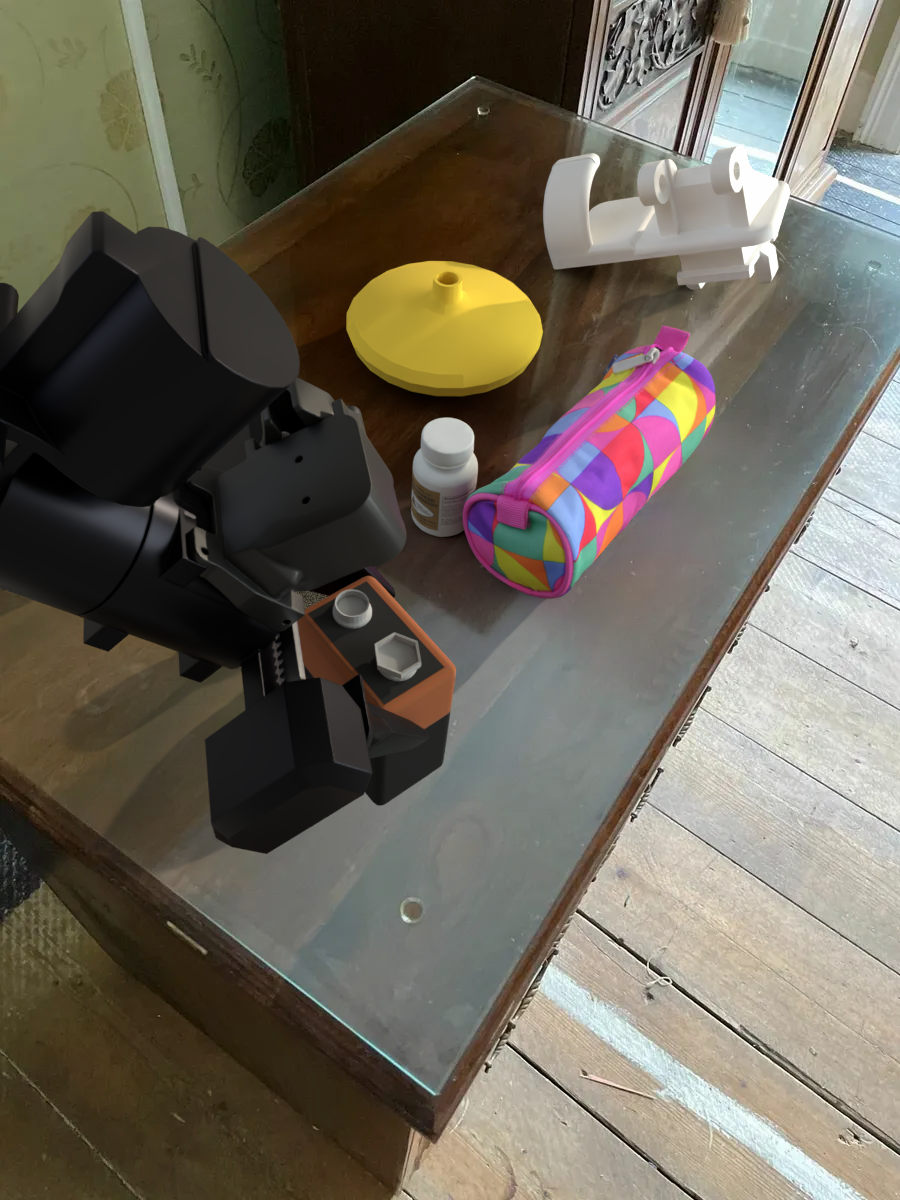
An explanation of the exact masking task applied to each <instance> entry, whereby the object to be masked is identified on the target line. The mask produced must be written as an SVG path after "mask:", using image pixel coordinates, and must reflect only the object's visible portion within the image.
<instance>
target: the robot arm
mask: <svg viewBox="0 0 900 1200" xmlns="http://www.w3.org/2000/svg"><path fill="white" fill-rule="evenodd" d="M19 298H20V295H19V291H18V290H17V289H16V288H15V287H14V286H13V285H12V284H10V283H7V282H0V590H3V591H6V592H8V593H9V592H10V593H12V594H15V595H17V596H21V597H23V598H27V599H29V600H32V601H35V602H38V603H40V604H43V605H46V606H49V607H51V608H55V609H57V610H60V611H63V612H65V613H68V614H71V615H74V616H76V617H79V618H81V619H83V641H82V643H83V644H84V645H87V646H90V647H93V648H96V649H99V650H101V651H105V652H108V653H109V652H110V651H111V650H113V649H114V648H115V647H116V646H117V645H118V644H120V643H121V642H122V641H123V640H124V639H126V638H127V637H128V636H129V635H130V636H132V637H136V638H138V639H141V640H144V641H146V642H149V643H152V644H155V645H158V646H160V647H163V648H166V649H169V650H172V651H175V652H177V653H178V655H177V656H178V669H179V677H183V678H185V679H188V680H191V681H194V682H197V683H200V684H201V683H203V682H204V681H205V680H207V679H209V678H210V677H211V676H212V675H213V674H215V673H216V672H217V671H219V670H220V669H221V668H226V669H229V670H235V669H238V668H240V671H241V679H242V680H241V681H242V690H243V700H244V708H245V710H243V711H242V712H240V713H238V714H237V715H236V716H235V717H233V718H232V719H231V720H230V721H228V722H227V723H225V724H224V725H223V726H221V727H220V728H219V729H217V730H215V731H214V732H213V733H212V734H210V735H209V736H207V737H206V738H204V744H205V745H204V747H205V759H206V773H207V788H208V801H209V812H210V813H209V814H210V824H211V828H212V830H213V834H214V837H215V839H216V840H218V841H221V842H222V843H224V844H226V845H227V846H229V847H231V848H234V849H238V850H239V849H240V850H244V851H249V852H254V853H260V854H265V855H268V854H270V853H272V852H273V851H274V850H276V849H278V848H279V847H281V846H282V845H284V844H286V843H287V842H290V841H291V840H293V839H294V838H296V837H297V836H299V835H300V834H303V833H304V832H306V831H307V830H308V829H310V828H311V827H314V826H315V825H317V824H319V823H320V822H322V821H323V820H325V819H326V818H329V817H330V816H331V815H333V814H335V813H336V812H338V811H339V810H341V809H343V808H344V807H346V806H348V805H349V804H351V803H353V802H354V801H356V800H358V799H360V798H361V797H362V796H364V795H365V794H366V793H365V791H366V788H367V786H368V783H369V781H370V778H371V776H372V773H373V772H372V767H371V762H370V759H371V758H375V757H380V756H384V755H389V754H393V753H397V752H402V751H406V750H411V749H413V748H415V747H417V746H419V745H420V744H422V743H424V742H425V741H427V740H428V733H427V731H426V730H425V729H423V728H422V727H420V726H419V725H417V724H415V723H414V722H412V721H410V720H408V719H406V718H404V717H401V716H399V715H397V714H394V713H392V712H390V711H387V710H385V709H382V708H380V707H378V706H375V705H373V704H371V703H368V702H367V700H366V695H365V690H364V685H363V679H362V676H361V675H360V674H358V675H356V676H355V677H353V678H352V679H350V680H349V681H347V682H346V683H345V684H343V685H340V684H337V683H334V682H332V681H329V680H327V679H324V678H321V677H319V678H312V679H306V677H305V670H304V664H303V657H302V650H301V644H300V637H299V631H298V624H297V621H298V620H299V619H300V618H301V617H303V616H304V615H305V609H306V608H305V605H304V598H303V595H302V594H300V592H301V593H303V592H305V593H306V592H311V593H316V594H319V595H323V596H326V597H328V596H330V595H332V594H334V593H335V592H337V591H339V590H341V589H343V588H344V587H346V586H348V585H350V584H352V583H354V582H355V581H357V580H359V579H361V578H363V577H365V576H371V577H373V578H375V579H376V580H377V581H378V582H379V583H380V584H381V585H382V586H383V587H384V588H385V589H386V590H387V592H388V593H389V594H390V595H391V596H392V597H393V598H394V599H395V598H396V591H395V588H394V587H393V585H392V584H391V583H390V582H389V581H388V580H387V579H386V578H385V577H384V576H383V575H382V573H381V572H380V571H379V570H378V569H377V568H376V567H379V566H382V565H384V564H386V563H389V562H390V561H392V560H393V559H395V558H396V557H397V556H398V555H399V554H400V553H401V552H402V551H403V549H404V547H405V545H406V542H407V529H406V525H405V522H404V520H403V517H402V515H401V511H400V507H399V503H398V502H399V501H398V499H397V495H396V491H395V487H394V484H395V482H394V477H393V474H392V472H391V471H390V469H389V468H388V466H387V464H386V463H385V461H384V460H383V458H382V457H381V455H380V454H379V451H377V449H376V448H375V446H374V444H373V443H372V442H371V440H370V439H369V437H368V435H367V432H366V431H367V430H366V428H365V424H364V419H363V414H362V411H361V409H360V408H358V407H357V406H355V405H346V403H345V402H344V400H343V399H342V398H341V397H340V398H338V399H335V400H334V398H333V397H332V395H331V394H330V393H328V391H327V392H326V391H325V390H323V389H321V388H319V387H317V386H315V385H313V384H311V383H309V382H308V381H306V380H304V379H302V378H299V377H298V376H299V375H300V374H299V373H300V366H301V365H300V364H301V362H300V361H301V360H300V355H299V351H298V348H297V345H296V343H295V340H294V337H293V334H292V332H291V331H290V329H289V327H288V324H286V322H285V320H284V319H283V317H282V315H281V313H280V312H279V310H278V309H277V307H276V306H275V305H274V303H273V302H272V300H271V299H270V298H269V296H268V295H267V293H265V292H264V291H263V289H262V288H261V287H260V286H259V285H258V284H257V282H256V281H255V280H254V279H253V278H252V277H251V276H250V275H249V273H247V272H246V271H245V270H244V269H243V268H242V267H241V266H240V265H239V264H238V263H237V262H235V260H234V259H232V258H231V257H230V256H228V255H227V254H226V253H225V252H224V251H222V250H221V249H220V248H219V247H217V246H216V245H214V244H213V243H211V242H210V241H208V240H207V239H206V238H204V237H201V236H199V237H197V238H196V239H194V238H192V237H189V236H188V235H185V234H184V233H182V232H181V231H177V230H173V229H170V228H167V227H163V226H147V227H144V228H143V229H140V230H138V231H137V232H136V233H135V232H134V231H132V230H131V229H130V228H128V227H126V226H125V225H124V224H122V223H121V222H120V221H118V220H117V219H115V218H114V217H113V216H112V215H109V214H108V213H107V212H106V211H102V210H100V211H99V210H98V211H91V213H89V214H88V215H87V217H86V219H84V221H83V222H82V223H81V224H80V226H79V227H78V228H77V229H75V232H74V233H73V234H72V235H71V237H70V238H69V239H68V241H67V242H66V245H65V246H64V250H63V252H62V254H61V257H60V260H59V261H58V263H57V265H56V266H55V267H54V269H53V270H52V271H51V273H50V274H49V275H48V276H47V277H46V278H45V280H44V281H43V282H42V283H41V284H40V286H39V287H38V288H37V289H36V290H35V292H34V293H33V294H32V295H31V296H30V298H28V299H27V301H26V302H25V303H24V305H23V306H22V307H20V309H19V300H20V299H19ZM298 592H299V593H298Z"/></svg>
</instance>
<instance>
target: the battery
mask: <svg viewBox="0 0 900 1200" xmlns="http://www.w3.org/2000/svg"><path fill="white" fill-rule="evenodd" d="M304 609H305V615H304V616H303V617H301V618H300V619H299V620H298V621H297V624H298V631H299V637H300V644H301V650H302V657H303V664H304V670H305V677H306V679H312V678H319V677H321V678H324V679H327V680H329V681H332V682H334V683H337V684H340V685H343V684H345V683H346V682H347V681H349V680H350V679H352V678H353V677H355V676H356V675H358V674H360V675H361V676H362V679H363V685H364V690H365V695H366V700H367V702H368V703H371V704H373V705H375V706H378V707H380V708H382V709H385V710H387V711H390V712H392V713H394V714H397V715H399V716H401V717H404V718H406V719H408V720H410V721H412V722H414V723H415V724H417V725H419V726H420V727H422V728H423V729H425V730H426V731H427V733H428V740H427V741H425V742H424V743H422V744H420V745H419V746H417V747H415V748H413V749H411V750H406V751H402V752H397V753H393V754H389V755H384V756H380V757H375V758H371V759H370V762H371V767H372V772H373V773H372V776H371V778H370V781H369V783H368V786H367V788H366V791H365V793H364V794H366V795H367V797H368V798H369V799H370V801H371V802H372V803H373V804H374V805H376V806H380V807H381V806H385V805H386V804H388V803H389V802H391V801H392V800H394V799H396V797H398V796H400V795H401V794H403V793H404V792H406V791H407V790H409V789H410V788H412V787H413V786H414V785H416V784H417V783H419V782H420V781H422V780H424V779H425V778H426V777H428V776H430V775H431V774H432V773H434V772H435V771H437V770H438V769H439V768H441V767H442V765H443V764H444V760H445V753H446V747H447V738H448V732H449V725H450V718H451V711H452V704H453V699H454V698H453V697H454V692H455V684H456V677H457V667H456V666H455V664H454V663H453V661H452V660H451V659H449V657H448V656H447V655H446V653H444V651H443V650H442V649H441V648H440V647H439V646H438V645H437V644H436V643H435V642H434V641H433V639H431V638H430V636H429V635H428V634H427V633H426V632H425V631H424V629H422V628H421V626H420V625H419V624H418V623H417V622H416V621H415V620H414V618H412V617H411V616H410V614H409V613H408V612H407V611H406V610H405V609H404V608H403V607H402V606H401V604H400V603H399V602H398V601H397V600H396V599H395V598H393V597H392V596H391V595H390V594H389V593H388V592H387V590H386V589H385V588H384V587H383V586H382V585H381V584H380V583H379V582H378V581H377V580H376V579H375V578H373V577H371V576H365V577H363V578H361V579H359V580H357V581H355V582H354V583H352V584H350V585H348V586H346V587H344V588H343V589H341V590H339V591H337V592H335V593H334V594H332V595H330V596H326V597H325V598H322V599H321V600H319V601H317V602H315V603H314V604H313V603H312V604H311V605H310V606H308V607H306V608H304Z"/></svg>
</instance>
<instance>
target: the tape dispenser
mask: <svg viewBox="0 0 900 1200" xmlns="http://www.w3.org/2000/svg"><path fill="white" fill-rule="evenodd" d="M600 164H601V158H600V156H599V155H598V154H597V153H594V152H590V153H586V154H581V155H576V156H571V157H565V158H560V159H558V160H557V161H556V162H554V163H553V165H552V167H551V170H550V173H549V176H548V179H547V182H546V186H545V190H544V197H543V207H542V216H543V217H542V221H543V233H544V238H545V244H546V248H547V252H548V255H549V260H550V262H551V265H552V268H553V270H563V269H564V270H565V269H572V268H581V267H588V266H589V267H590V266H597V265H607V264H614V263H615V264H616V263H623V262H629V261H631V262H632V261H639V260H647V259H656V258H665V257H671V256H673V257H674V256H678V257H679V262H680V268H679V270H678V271H677V272H676V282H677V286H686V288H688V289H689V290H691V291H695V290H702V289H703V288H704V286H705V284H707V283H717V282H727V281H737V280H746V279H747V280H748V279H751V278H752V276H753V275H754V273H755V272H756V274H757V275H756V276H757V281H758V283H759V284H768V283H771V282H772V281H773V279H774V278H775V276H776V274H777V272H778V270H779V261H778V256H777V248H776V245H774V244H773V242H775V241H776V240H777V238H778V236H779V231H780V228H781V225H782V222H783V220H784V219H783V218H784V215H785V212H786V209H787V205H788V202H789V198H790V195H791V190H790V189H791V188H790V185H789V184H788V183H787V182H786V181H783V180H778V178H776V177H773V176H770V175H767V174H765V173H762V172H761V171H757V170H755V169H753V167H752V166H751V164H750V161H749V158H748V154H747V151H746V149H745V148H744V147H743V146H742V145H737V146H731V147H726V148H720V149H716V152H715V153H714V155H713V156H712V158H711V163H708V164H702V165H697V166H691V167H685V168H680V169H678V167H677V165H676V163H675V162H674V160H672V159H671V158H665V159H659V160H655V161H650V162H646V163H644V164H643V165H642V166H641V167H640V169H639V171H638V174H637V180H636V189H637V195H638V196H633V197H627V198H621V199H613V200H609V201H604V202H601V203H598V204H597V205H595V206H593V207H592V208H591V209H590V196H591V189H592V184H593V181H594V177H595V175H596V173H597V170H598V168H599V167H600ZM755 269H756V271H755Z"/></svg>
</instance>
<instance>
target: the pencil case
mask: <svg viewBox="0 0 900 1200" xmlns="http://www.w3.org/2000/svg"><path fill="white" fill-rule="evenodd" d="M690 336H691V333H690V332H689V331H685V330H682V329H679V328H676V327H672V326H668V325H661V327H660V330H659V332H658V334H657V335H656V337H655V340H654V341H653V343H652V344H646V345H641V346H637V347H635V348H632V349H629V350H627V351H625V352H624V353H623V354H621V355H620V356H619V355H618V354H615V353H614V354H613V356H612V358H611V360H610V361H609V363H608V364H607V366H606V367H605V369H604V370H603V372H602V376H604V377H603V378H602V380H601V381H600V383H599V384H598V385H596V386H595V387H594V388H593V389H592V390H590V391H589V392H588V393H587V394H586V395H585V396H584V397H583V398H582V399H580V400H579V401H578V402H577V403H576V404H575V405H574V406H573V407H571V408H570V409H569V410H568V411H567V412H565V413H564V414H563V415H562V416H561V417H560V418H559V419H558V420H557V421H555V423H554V424H552V425H551V426H550V427H549V428H548V430H547V431H546V432H545V434H544V435H543V437H542V439H541V441H540V442H539V443H538V444H536V445H535V446H534V447H533V448H532V449H531V450H530V451H528V452H527V453H526V454H524V455H523V456H522V457H521V458H520V459H519V460H518V461H517V462H516V464H514V466H513V467H512V468H511V469H510V470H509V471H508V472H506V473H505V474H502V475H501V476H499V477H498V478H496V479H494V480H493V481H492V482H491V483H489V484H487V485H485V486H482V487H479V488H478V489H476V491H475V492H473V493H472V494H470V496H469V497H468V498H467V500H466V502H465V505H464V509H463V526H464V530H463V531H464V534H465V536H466V539H467V543H468V545H469V547H470V549H471V552H472V553H473V555H474V556H475V558H476V559H477V561H478V562H479V563H480V564H481V565H482V566H483V568H485V569H486V570H487V571H488V572H489V573H490V574H491V575H493V577H494V578H497V579H498V580H499V581H500V582H502V583H505V584H506V585H507V586H509V587H510V588H512V589H515V590H516V591H519V592H521V593H523V594H525V595H528V596H531V597H534V598H539V599H557V598H561V597H563V596H565V595H566V594H568V593H570V591H571V590H572V588H573V587H574V585H575V584H576V582H577V581H579V579H580V577H581V576H582V574H583V573H584V571H586V570H587V569H588V568H589V567H590V566H592V564H593V563H595V561H596V560H597V559H598V557H599V556H600V555H601V554H602V553H603V552H604V551H605V550H606V549H607V547H608V546H609V545H610V543H611V542H612V541H613V540H614V539H615V537H617V536H618V535H620V533H622V532H623V531H624V530H625V529H626V528H627V527H628V525H630V524H629V523H630V522H631V521H632V520H633V518H634V517H635V516H636V515H637V514H638V513H639V511H640V510H641V509H642V508H643V507H644V506H645V505H646V504H647V503H648V501H649V500H650V499H651V497H652V496H653V495H654V494H655V493H657V492H658V490H659V489H661V487H663V485H665V484H666V483H667V482H668V481H669V480H670V479H671V478H672V477H673V476H674V475H675V474H676V473H677V472H678V471H679V470H680V468H681V467H683V465H684V464H685V463H686V462H687V460H688V459H689V458H690V457H691V455H692V454H693V453H694V451H695V450H696V449H697V447H698V446H699V444H700V443H701V442H702V441H703V440H704V439H705V438H706V436H707V435H708V433H709V432H710V431H711V428H712V426H713V423H714V419H715V414H716V404H717V403H716V387H715V381H714V379H713V377H712V374H711V372H710V371H709V369H708V368H707V367H706V365H704V364H703V363H702V362H700V361H699V360H697V359H696V358H694V357H692V356H691V355H689V354H687V353H685V352H683V351H684V349H685V347H686V346H687V344H688V342H689V339H690Z"/></svg>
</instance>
